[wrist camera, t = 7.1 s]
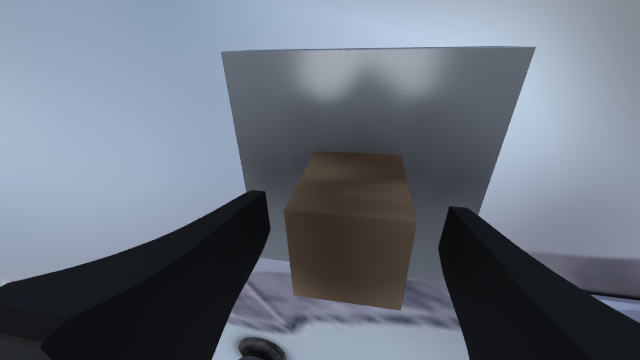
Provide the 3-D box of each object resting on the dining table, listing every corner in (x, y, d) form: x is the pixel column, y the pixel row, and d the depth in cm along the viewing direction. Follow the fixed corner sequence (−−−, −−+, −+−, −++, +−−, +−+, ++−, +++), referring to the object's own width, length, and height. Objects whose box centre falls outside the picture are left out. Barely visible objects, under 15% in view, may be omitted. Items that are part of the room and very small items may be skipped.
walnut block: (400, 154, 12) (417, 221, 7) (391, 224, 13) (400, 310, 9) (314, 151, 12) (283, 210, 8) (317, 217, 14) (293, 295, 10)
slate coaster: (503, 45, 11) (535, 47, 9) (444, 251, 17) (454, 282, 15) (246, 50, 13) (221, 51, 11) (271, 232, 19) (258, 257, 17)
